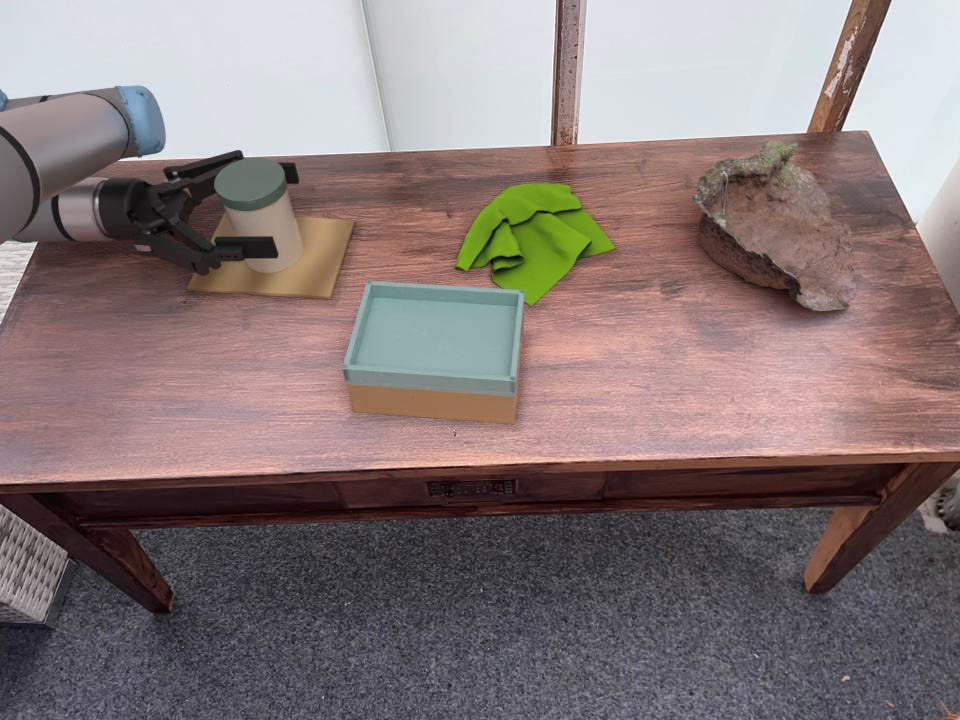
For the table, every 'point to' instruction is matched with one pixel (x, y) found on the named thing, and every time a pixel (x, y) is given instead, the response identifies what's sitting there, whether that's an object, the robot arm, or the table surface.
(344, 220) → the mat
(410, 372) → the teal and tan box
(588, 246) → the cloth
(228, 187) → the jar
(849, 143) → the table surface
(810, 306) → the rock
